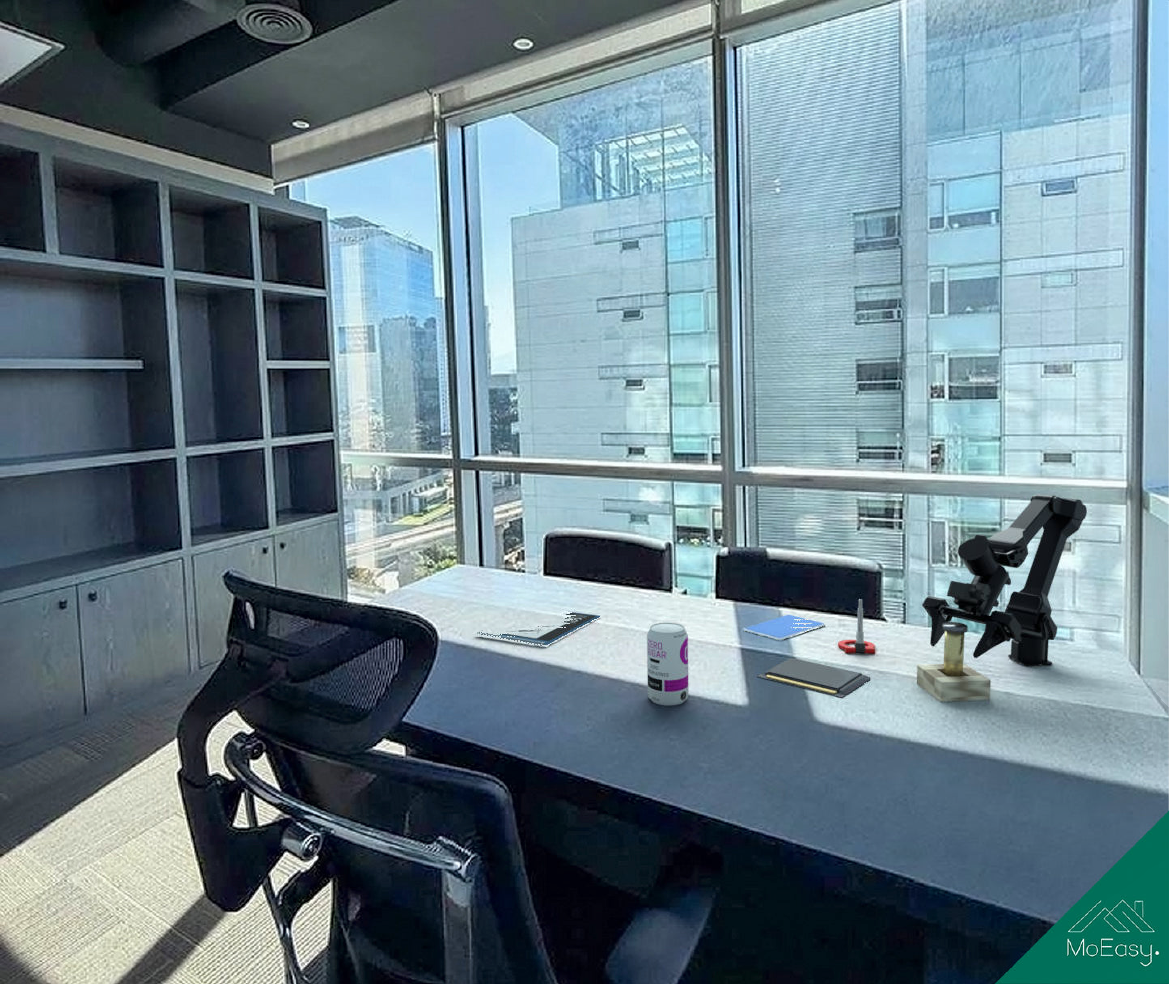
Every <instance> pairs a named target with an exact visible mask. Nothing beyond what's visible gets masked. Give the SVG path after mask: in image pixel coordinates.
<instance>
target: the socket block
mask: <svg viewBox="0 0 1169 984" xmlns="http://www.w3.org/2000/svg"><path fill="white" fill-rule="evenodd" d="M943 668H944V663H939V664H938V663H936V664H918V665H917V666H916V684H917V685H918V686H919V687H920V688H922V689H923V690H925V691H926V692H927V693H929V694H930V695H931V696H932V695H933V696H932V697H934V698H935V699H936V700H938V701H941V703H944V702H946V703H947V702H948V701H949V702H966V701H967V702H968V701H985V700H986V701H989V700H988V699H990V700H991V686H992V685H991V682H992V681H991V679H989V677H987V676H985V675H984V674H981V672H979V671H977V670H975V669H974V668H972V667H971V666H969V665H968V664H965V663H964V662H963V676H957V677H947V676H946V675H944V674H943Z"/></svg>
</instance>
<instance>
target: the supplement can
mask: <svg viewBox="0 0 1169 984" xmlns="http://www.w3.org/2000/svg"><path fill="white" fill-rule="evenodd" d="M688 635H689V634H688V633H687V630H686V628H685V625H682V624H680V623H676V622H658V623H654V624H651V625H650V626H649V630H648V631H647V633H646V647H647V648H646V655H647V656H646V657H647V659H646V661H647V662H646V664H647V666H646V667H647V669H646V670H647V672H646V673H647V696H648V697H647V698H649V699H650V701H651V702H652V703H654V704H657V705H660V706H668V707H669V706H677V705H681V704H683V703H685V701H686V700H688V698H689V636H688Z"/></svg>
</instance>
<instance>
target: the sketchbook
mask: <svg viewBox="0 0 1169 984" xmlns="http://www.w3.org/2000/svg"><path fill="white" fill-rule="evenodd" d="M571 612H572V613H570V614H566V615H576V616H571V617H567V618H565V619H573V620H570V621H564V622H561V623H570V624H561V625H553V626H542V627H563V628H555V629H548V630H541V629H538V630H537V629H535V630H518V631H516V630H515V631H506V632H533V633H517V634H516V633H515V634H509V633H507V634H502V635H501V634H500V635H493V634H488V633H486V634H487V636H488V635H490V636H491V635H493V636H495V637H496V636H498V637H499V636H501V638H503V639H504V638H506V639H508V640H510V639H511V640H514V641H515V640H517V642H518V640H520V642H521V641H523V642H526V643H527V642H529V643H531V644H532V643H534V645H535V644H537V645H538V644H540V646H542V645H548V644H550V643H552V642H554V641H555V640H558V639H559V638H561V637H562V636H565V635H567V634H568V633H570V632H573V631H574V630H576V629H577V628H579V627H582V626H583V625H585V624H587V623H590V622H591V621H592V620H594V619H597V618H599V617H600V616H601V615H597V614H589V613H584V612H583V613H582V612H574V611H571ZM599 619H600V618H599ZM590 624H591V623H590ZM538 627H539V626H538ZM564 627H566V628H564ZM534 632H537V633H534ZM476 633H477V634H478V633H479V634H480V631H478V632H476ZM481 633H482V632H481ZM483 634H484V635H486V634H485V633H482V634H481V635H483ZM493 636H492V637H493ZM507 636H509V637H507ZM510 636H512V637H510ZM514 636H515V637H514ZM501 638H500V639H501ZM529 643H528V644H529ZM541 644H542V645H541Z"/></svg>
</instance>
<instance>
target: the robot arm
mask: <svg viewBox="0 0 1169 984" xmlns="http://www.w3.org/2000/svg"><path fill="white" fill-rule="evenodd" d="M1087 509H1088V508H1087V506H1086V505H1085V504H1084V503H1083V502H1082V500H1081V499H1078V498H1065V497H1059V496H1057V495H1054V494H1053V495H1052V494H1042V493H1037V494H1034V495H1032V496H1031V499H1030V501H1029V504H1027V506H1026V507H1025V508H1024V509H1023V511H1021V513H1020V514H1019V515H1018V516H1017V517H1016V519H1015V520H1014V521H1012V523H1011V524H1010V526H1009V527H1008V528H1006V529H1004V530H1001V531H999V532H995V533H994V534H992V535H991V536H990V537H989V538H988V537H987V536H986V535H982V534H975V536H974V538H970V539H967V540H965V541H964V542H963V543H961V544H960V545H959V547H958V549H957V553H958V556H959V557H960V559H961V560H962V563H963V564H964V565H965V567H966V569H967V570H968V572H969V573H970V574H971V575H973V576H974V577H973V578H972V580H971V582H970V583H969V582H966V583H965V582H961V581H955V580H951V581H950V582H949V586H948V590H947V594H946V596H947V597H951V598H953V599H954V600H953V603H954V605H956V606H957V607H952V606H951V605H950V604H949V603H948V601H947V600H946V599H945V598H941V597H935V596H931V595H930V596H926V597H925V599H924V600H923V602H922V603H921V606H922V608H924V610H925V611H926V613H927V614H928V616H929V617H930V618H931V629H930V630H931V631H930V632H931V633H930V643H929V645H931V647H935V646H936V645H937V644H938V643H939V641H940V640H941V638H942V637H943V636H944V635H945V630H943V629H942V624H943V623H945V622H952V619H953V618H956V619H962V620H965V621H968V622H974V623H978V624H982V625H985V627H984V632H983V634H982V635H981V637H980V639H979V641H978V643H977V644H976V647H975V648H974V651H973V652H972V656H973V657H974V659H978V658H979V657H981V656H982V655H984V654H985V653H987V652H989V651H990V650H991V649H993V648H995V647H997V646H998V645H1001V644H1003V643H1004V642H1010V641H1011V642H1010V643H1011V644H1010V648H1011V649H1010V654H1008V655H1007V656H1008V658H1010V659H1012V660H1013V661H1016V662H1017V663H1018V664H1020V665H1022V666H1025V667H1030V666H1031V667H1032V666H1033V667H1035V666H1052V665H1053V661H1050V660H1049V659H1048V658H1049V641H1054V640H1055V638H1056V637H1057V632H1058V626H1057V625H1056V623H1055V621H1054V620H1053V617H1052V612H1053V611H1052V606H1051V603H1050V601H1049V594H1050V591H1051V587H1052V584H1053V581H1054V578H1055V575H1056V572H1057V570H1058V568H1059V563H1060V560H1061V558H1062V556H1063V555H1062V554H1063V553H1064V549H1065V546H1066V543H1067V540H1068V539H1069V538H1070V537H1071V536H1072V535H1073V534H1075V533H1076V532H1078V531H1079V529H1080V528H1081V526H1082V523H1083V521H1084V520H1086V517H1087V513H1088V512H1087ZM1041 529H1042V530H1043V532H1042V535H1041V537H1040V540H1039V543H1038V545H1037V549H1036V552H1035V555H1034V558H1033V560H1032V563H1031V567H1030V568H1029V572H1028V574H1027V577H1026V581H1025V584H1024V586H1023V588H1022V589H1021V590H1019V591H1016V590H1015V591H1012V593H1011V594H1010V597H1009V601H1008V604H1007V605H1006V606H1005V610H1004V611H1002V610H1001V611H1000V610H996V609H995V610H993V608H994V607H996V608H998V606H999V604H1000V602H999V600H998V598H999V596H1000V595H1001V592H1002V590H1003V588H1004V587H1005V585H1008V586H1010V585H1012V579H1011V577H1010V572H1009V571H1007V570H1006V568H1007V567H1008V568H1015V569H1018V568H1020V567H1021V566H1022V564H1024V563H1025V561H1026V559H1027V557H1028V555H1029V548H1028V546H1029V544H1030V543H1031V542H1032V540H1033V539H1034V537H1035V536H1036V535H1037V533H1039V531H1040V530H1041ZM1005 567H1006V568H1005Z"/></svg>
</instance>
